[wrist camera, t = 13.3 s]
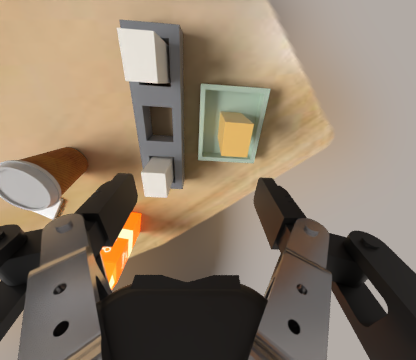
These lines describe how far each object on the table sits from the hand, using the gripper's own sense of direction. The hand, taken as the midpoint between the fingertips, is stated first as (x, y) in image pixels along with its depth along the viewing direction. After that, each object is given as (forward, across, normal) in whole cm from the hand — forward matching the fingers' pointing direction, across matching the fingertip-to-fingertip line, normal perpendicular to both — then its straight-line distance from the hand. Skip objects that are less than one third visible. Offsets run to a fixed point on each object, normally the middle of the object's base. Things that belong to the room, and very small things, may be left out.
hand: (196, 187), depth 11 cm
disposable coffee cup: (+25, +29, +11) cm, 40 cm away
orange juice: (+25, +21, +29) cm, 44 cm away
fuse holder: (+25, +8, +1) cm, 26 cm away
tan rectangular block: (+24, -6, +2) cm, 25 cm away
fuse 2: (+25, +8, +10) cm, 28 cm away
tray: (+25, -6, +2) cm, 26 cm away
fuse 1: (+25, +7, -8) cm, 27 cm away
